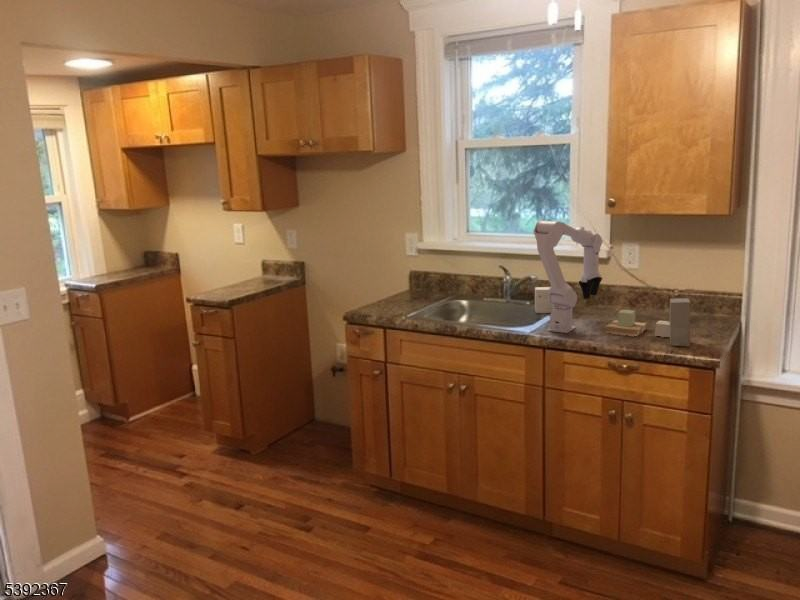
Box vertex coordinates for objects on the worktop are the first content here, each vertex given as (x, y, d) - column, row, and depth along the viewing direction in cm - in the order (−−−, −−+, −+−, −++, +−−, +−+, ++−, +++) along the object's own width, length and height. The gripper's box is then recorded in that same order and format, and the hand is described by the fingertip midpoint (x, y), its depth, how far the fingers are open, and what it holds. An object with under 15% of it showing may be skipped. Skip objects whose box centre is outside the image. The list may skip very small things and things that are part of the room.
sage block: (631, 326, 244) (631, 313, 243) (617, 325, 246) (618, 312, 245) (634, 323, 248) (635, 310, 247) (621, 322, 250) (621, 309, 249)
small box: (553, 310, 286) (553, 286, 283) (554, 313, 280) (554, 289, 278) (534, 310, 286) (534, 287, 284) (535, 313, 281) (535, 289, 279)
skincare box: (690, 347, 224) (692, 302, 221) (667, 346, 227) (669, 301, 223) (689, 340, 232) (691, 297, 228) (667, 339, 234) (669, 296, 231)
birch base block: (636, 338, 239) (637, 329, 239) (604, 334, 246) (604, 326, 246) (646, 330, 249) (646, 322, 248) (615, 327, 256) (615, 319, 255)
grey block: (669, 338, 236) (669, 325, 235) (655, 336, 239) (655, 323, 238) (672, 335, 240) (673, 322, 239) (658, 333, 243) (659, 320, 242)
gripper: (594, 266, 250) (593, 301, 253) (607, 261, 261) (606, 294, 264) (576, 265, 254) (576, 299, 257) (590, 260, 265) (589, 292, 268)
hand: (590, 296), depth 261 cm, fingers open, 7 cm apart
